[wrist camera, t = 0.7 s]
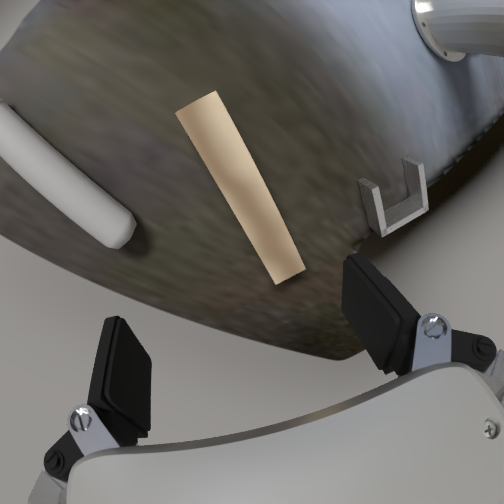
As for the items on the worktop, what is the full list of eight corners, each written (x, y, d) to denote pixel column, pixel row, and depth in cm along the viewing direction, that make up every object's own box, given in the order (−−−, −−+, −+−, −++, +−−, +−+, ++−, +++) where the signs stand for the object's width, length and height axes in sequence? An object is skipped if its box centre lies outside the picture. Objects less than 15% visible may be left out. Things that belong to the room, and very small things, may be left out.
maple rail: (212, 92, 25) (215, 90, 21) (293, 248, 37) (305, 269, 32) (178, 111, 25) (174, 112, 21) (266, 261, 37) (276, 284, 33)
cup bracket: (406, 156, 32) (423, 163, 29) (414, 200, 36) (428, 210, 33) (357, 180, 33) (371, 189, 30) (368, 225, 37) (381, 237, 34)
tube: (145, 224, 27) (-6, 93, 14) (116, 264, 27) (-32, 134, 14) (143, 216, 31) (10, 102, 19) (118, 250, 31) (-13, 137, 19)
